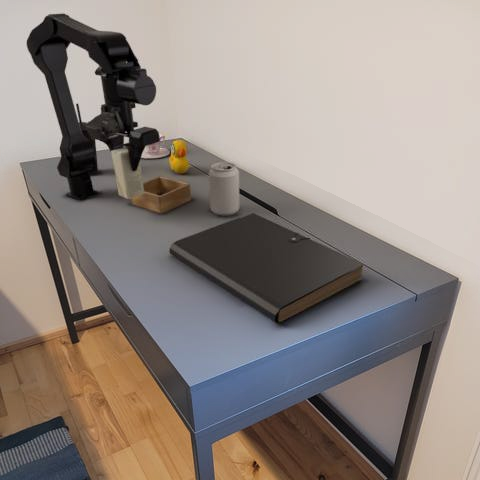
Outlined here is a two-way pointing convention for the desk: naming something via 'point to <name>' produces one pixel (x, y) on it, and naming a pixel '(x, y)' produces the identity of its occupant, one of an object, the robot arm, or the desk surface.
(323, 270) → the black book
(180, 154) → the duckling
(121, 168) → the box
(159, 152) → the teacup
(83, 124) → the drinking cup
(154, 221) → the desk surface
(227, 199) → the can
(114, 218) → the desk surface
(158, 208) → the crate
